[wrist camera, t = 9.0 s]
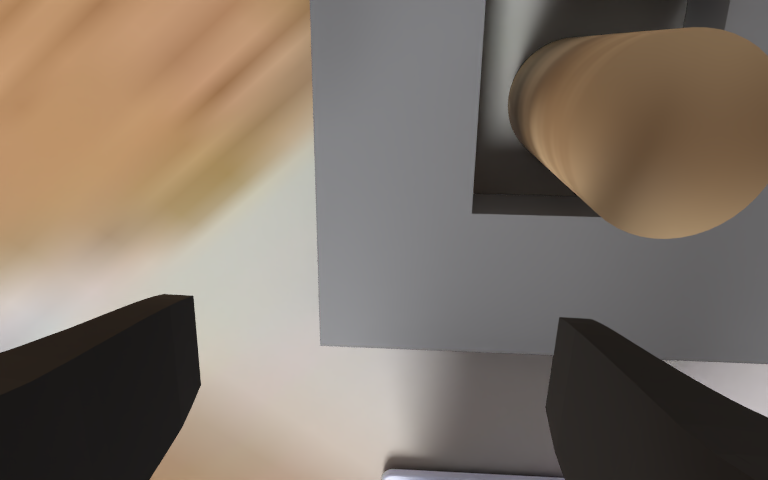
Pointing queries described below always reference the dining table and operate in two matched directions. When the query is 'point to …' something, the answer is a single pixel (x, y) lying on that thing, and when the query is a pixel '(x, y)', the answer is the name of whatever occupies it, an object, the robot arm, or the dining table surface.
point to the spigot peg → (649, 125)
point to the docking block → (495, 210)
